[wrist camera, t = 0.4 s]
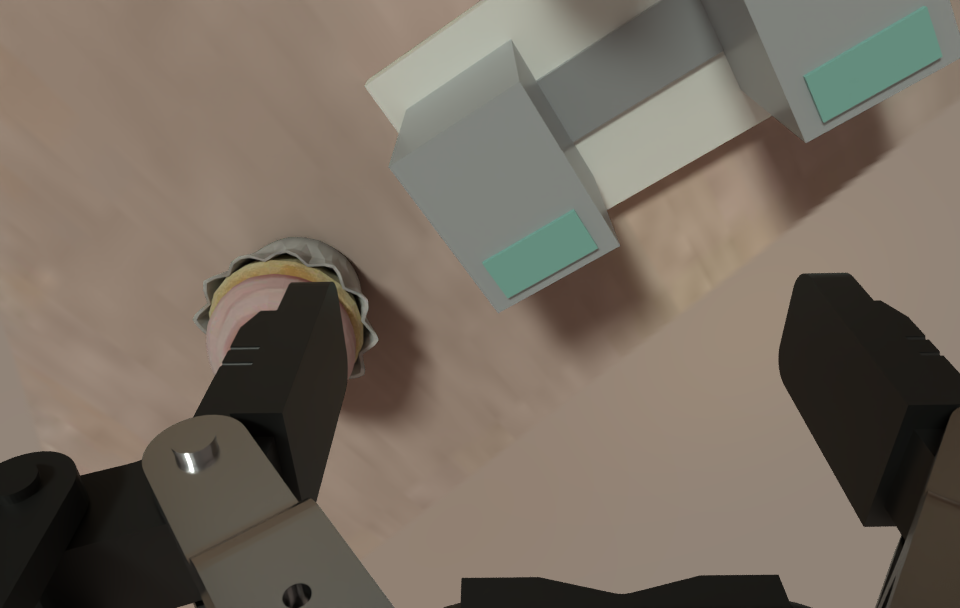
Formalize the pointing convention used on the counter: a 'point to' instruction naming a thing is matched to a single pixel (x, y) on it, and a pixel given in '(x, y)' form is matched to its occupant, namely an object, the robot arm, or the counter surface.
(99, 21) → the counter surface
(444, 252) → the counter surface
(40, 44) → the counter surface
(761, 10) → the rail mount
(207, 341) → the cupcake
